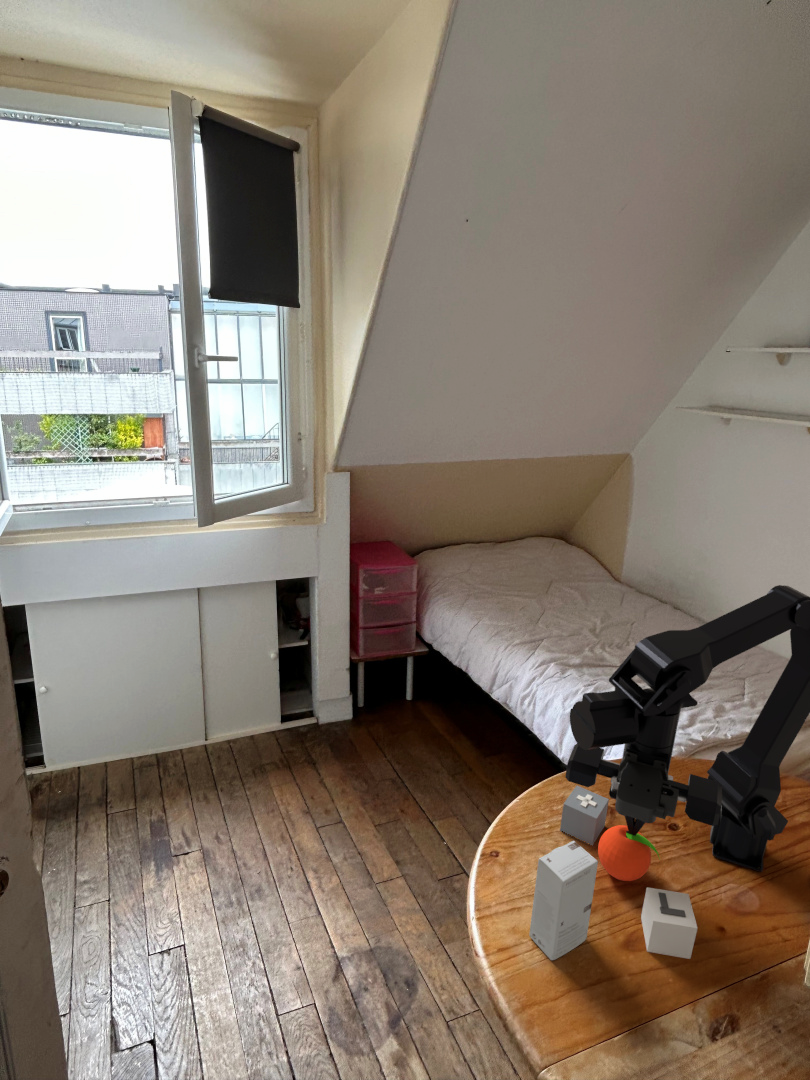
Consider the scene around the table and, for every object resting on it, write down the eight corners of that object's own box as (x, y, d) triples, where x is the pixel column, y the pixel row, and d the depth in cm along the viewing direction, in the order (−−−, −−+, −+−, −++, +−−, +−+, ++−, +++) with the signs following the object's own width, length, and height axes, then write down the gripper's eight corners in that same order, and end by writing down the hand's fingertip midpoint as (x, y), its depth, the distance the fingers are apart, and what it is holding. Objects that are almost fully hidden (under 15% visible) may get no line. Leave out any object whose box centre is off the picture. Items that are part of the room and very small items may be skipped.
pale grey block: (681, 924, 87) (688, 892, 85) (690, 959, 82) (697, 926, 80) (640, 917, 88) (646, 886, 86) (646, 951, 83) (653, 919, 81)
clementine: (658, 867, 95) (667, 827, 93) (650, 904, 89) (659, 861, 87) (601, 846, 99) (607, 806, 96) (589, 880, 93) (596, 838, 90)
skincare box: (552, 963, 81) (564, 884, 77) (526, 935, 84) (536, 858, 80) (588, 939, 84) (601, 862, 80) (562, 912, 88) (573, 837, 84)
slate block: (604, 826, 103) (609, 798, 101) (592, 846, 99) (596, 817, 97) (572, 811, 105) (576, 784, 103) (559, 831, 101) (563, 802, 100)
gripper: (562, 748, 83) (549, 849, 88) (730, 797, 76) (704, 904, 81) (581, 702, 93) (568, 796, 98) (731, 742, 85) (708, 841, 91)
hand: (632, 832), depth 92 cm, fingers closed, pressing on clementine
